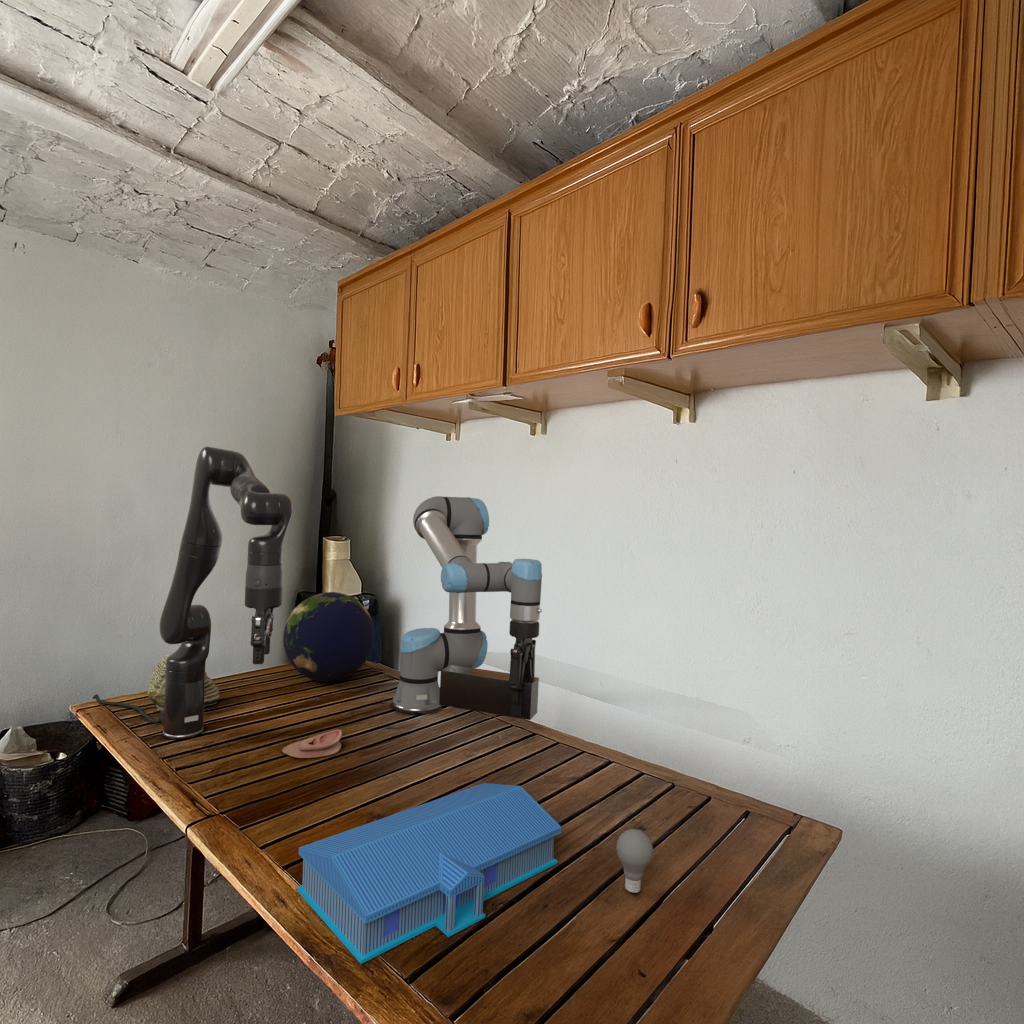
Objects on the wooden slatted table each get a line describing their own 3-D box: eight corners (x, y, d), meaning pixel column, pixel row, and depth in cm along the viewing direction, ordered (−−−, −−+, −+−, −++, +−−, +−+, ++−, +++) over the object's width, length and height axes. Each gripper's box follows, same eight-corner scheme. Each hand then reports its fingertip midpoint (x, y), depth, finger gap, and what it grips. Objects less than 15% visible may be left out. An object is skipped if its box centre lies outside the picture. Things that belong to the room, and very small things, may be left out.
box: (439, 704, 165) (440, 670, 164) (449, 698, 170) (450, 664, 170) (529, 720, 156) (531, 683, 156) (537, 712, 162) (538, 677, 162)
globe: (261, 684, 208) (265, 593, 208) (321, 664, 236) (324, 584, 236) (336, 698, 197) (339, 602, 197) (389, 675, 225) (393, 591, 224)
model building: (372, 977, 84) (375, 903, 84) (295, 888, 102) (297, 827, 102) (571, 871, 110) (574, 814, 110) (482, 815, 129) (484, 766, 128)
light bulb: (610, 879, 108) (613, 822, 108) (644, 879, 109) (647, 822, 109) (619, 902, 102) (622, 840, 102) (655, 901, 103) (658, 840, 103)
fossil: (144, 707, 182) (145, 655, 182) (212, 696, 194) (213, 647, 194) (151, 716, 175) (153, 662, 175) (221, 703, 188) (223, 653, 188)
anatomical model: (275, 738, 153) (300, 722, 164) (275, 755, 153) (300, 738, 164) (326, 745, 150) (348, 728, 162) (325, 762, 151) (347, 744, 162)
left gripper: (278, 589, 131) (275, 667, 132) (286, 580, 145) (283, 650, 146) (239, 589, 130) (236, 668, 130) (251, 580, 144) (248, 651, 144)
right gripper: (527, 628, 150) (522, 725, 150) (549, 615, 168) (545, 702, 168) (497, 625, 152) (493, 720, 153) (522, 613, 170) (518, 698, 171)
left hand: (261, 658), depth 138 cm, fingers open, 8 cm apart
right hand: (520, 711), depth 160 cm, fingers closed on box, 6 cm apart
